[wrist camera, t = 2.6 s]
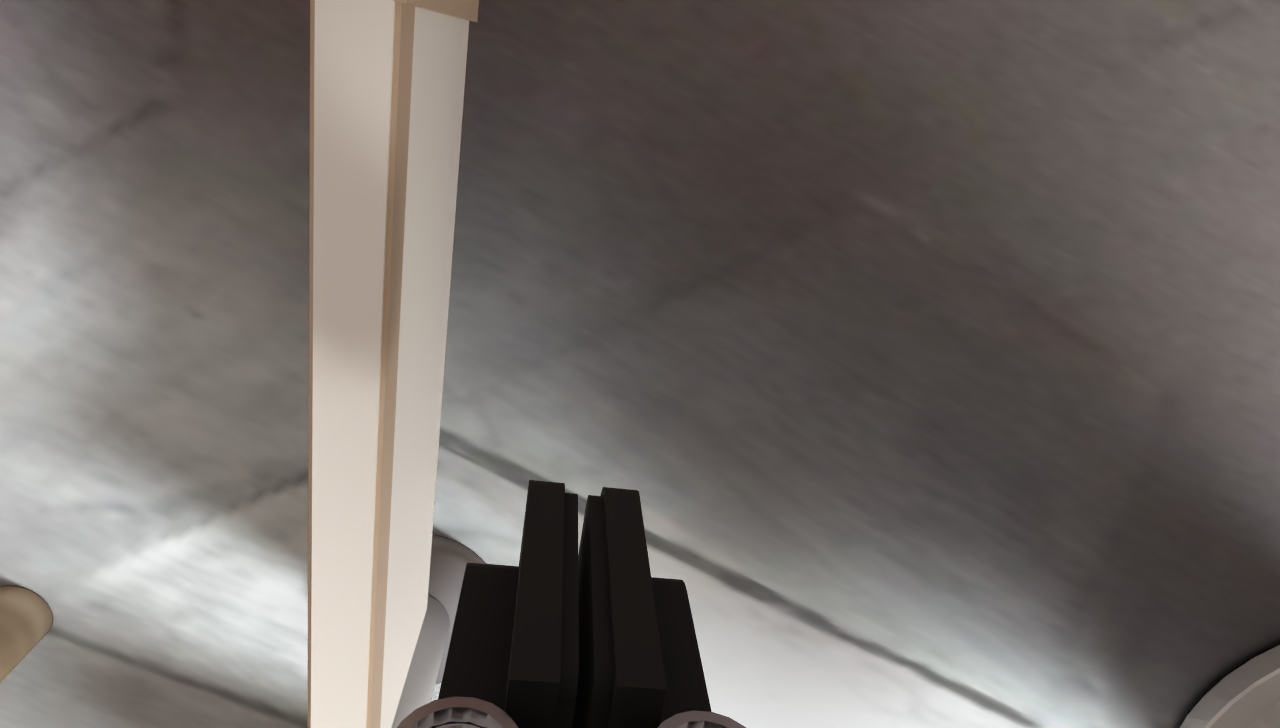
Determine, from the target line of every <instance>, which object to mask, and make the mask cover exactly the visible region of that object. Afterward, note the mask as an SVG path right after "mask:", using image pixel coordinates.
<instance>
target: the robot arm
mask: <svg viewBox="0 0 1280 728" xmlns="http://www.w3.org/2000/svg"><path fill="white" fill-rule="evenodd" d="M397 728H746V727H744V726H743V725H741V724H739V723H738V722H736V721H734V720H732V719H731V718H729V717H726V716H723V715H720V714H716V713H713V712H711V708H710V703H709V698H708V693H707V688H706V683H705V678H704V673H703V668H702V663H701V658H700V653H699V649H698V644H697V639H696V634H695V629H694V624H693V619H692V614H691V609H690V604H689V599H688V594H687V590H686V586H685V583H684V582H683V581H682V580H676V579H664V578H652V577H651V574H650V567H649V559H648V552H647V545H646V538H645V531H644V524H643V517H642V510H641V503H640V496H639V491H637V490H627V489H617V488H607V487H603V489H602V492H601V496H591V495H588V498H587V504H586V510H585V516H584V523H583V529H582V536H581V542H580V548H579V555H578V495H577V494H570V493H565V484H564V483H555V482H544V481H534V480H529V487H528V495H527V503H526V512H525V520H524V528H523V536H522V545H521V553H520V561H519V567H517V566H505V565H493V564H481V563H468V562H467V565H466V568H465V573H464V578H463V582H462V587H461V592H460V597H459V602H458V606H457V611H456V616H455V621H454V626H453V630H452V635H451V640H450V645H449V650H448V654H447V659H446V664H445V669H444V674H443V678H442V683H441V688H440V693H439V698H438V700H434V701H432V702H430V703H428V704H426V705H423V706H421V707H419V708H417V709H416V710H414V711H413V712H412V713H411V714H409V715H408V716H407V717H406V718H405V719H403V720H402V721H401V723H400V724H399V725H398V727H397ZM1180 728H1280V645H1278V646H1276V647H1274V648H1272V649H1270V650H1268V651H1266V652H1264V653H1262V654H1260V655H1258V656H1256V657H1254V658H1252V659H1250V660H1249V661H1247V662H1246V663H1244V664H1243V665H1241V666H1240V667H1239V668H1237V669H1236V670H1234V671H1233V672H1231V673H1230V674H1228V675H1227V676H1225V677H1224V678H1223V679H1222V680H1221V681H1220V682H1219V683H1217V684H1216V685H1215V686H1214V687H1213V688H1212V689H1211V690H1209V691H1208V692H1207V693H1206V694H1205V695H1204V696H1203V697H1202V698H1201V700H1200V701H1199V702H1198V703H1197V704H1196V705H1195V707H1194V708H1193V709H1192V710H1191V711H1190V712H1189V714H1188V715H1187V716H1186V718H1185V720H1184V721H1183V723H1182V725H1181V726H1180Z"/></svg>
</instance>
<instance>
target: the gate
mask: <svg viewBox="0 0 1280 728" xmlns="http://www.w3.org/2000/svg"><path fill="white" fill-rule="evenodd" d="M478 6H479V0H310V213H309V482H308V728H397V727H398V725H399V724H400V723H401V721H402V720H403V719H405V718H406V717H407V716H408V715H409V714H411V713H412V712H413V711H414V710H416V709H417V708H419V707H421V706H423V705H426V704H428V703H430V702H431V699H432V695H433V691H434V687H435V683H436V679H437V675H438V671H439V667H440V663H441V659H442V655H443V651H444V647H445V643H446V639H447V635H448V631H449V627H450V620H449V616H448V613H447V611H446V610H445V608H444V607H443V606H442V605H441V604H440V603H439V602H438V601H437V600H435V599H434V598H432V597H430V596H428V588H429V574H430V560H431V546H432V532H433V518H434V504H435V490H436V476H437V463H438V449H439V435H440V421H441V407H442V393H443V379H444V365H445V351H446V338H447V324H448V310H449V296H450V282H451V268H452V254H453V240H454V226H455V213H456V199H457V185H458V171H459V157H460V143H461V129H462V115H463V101H464V88H465V74H466V60H467V46H468V32H469V21H472V22H477V19H478Z"/></svg>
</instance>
